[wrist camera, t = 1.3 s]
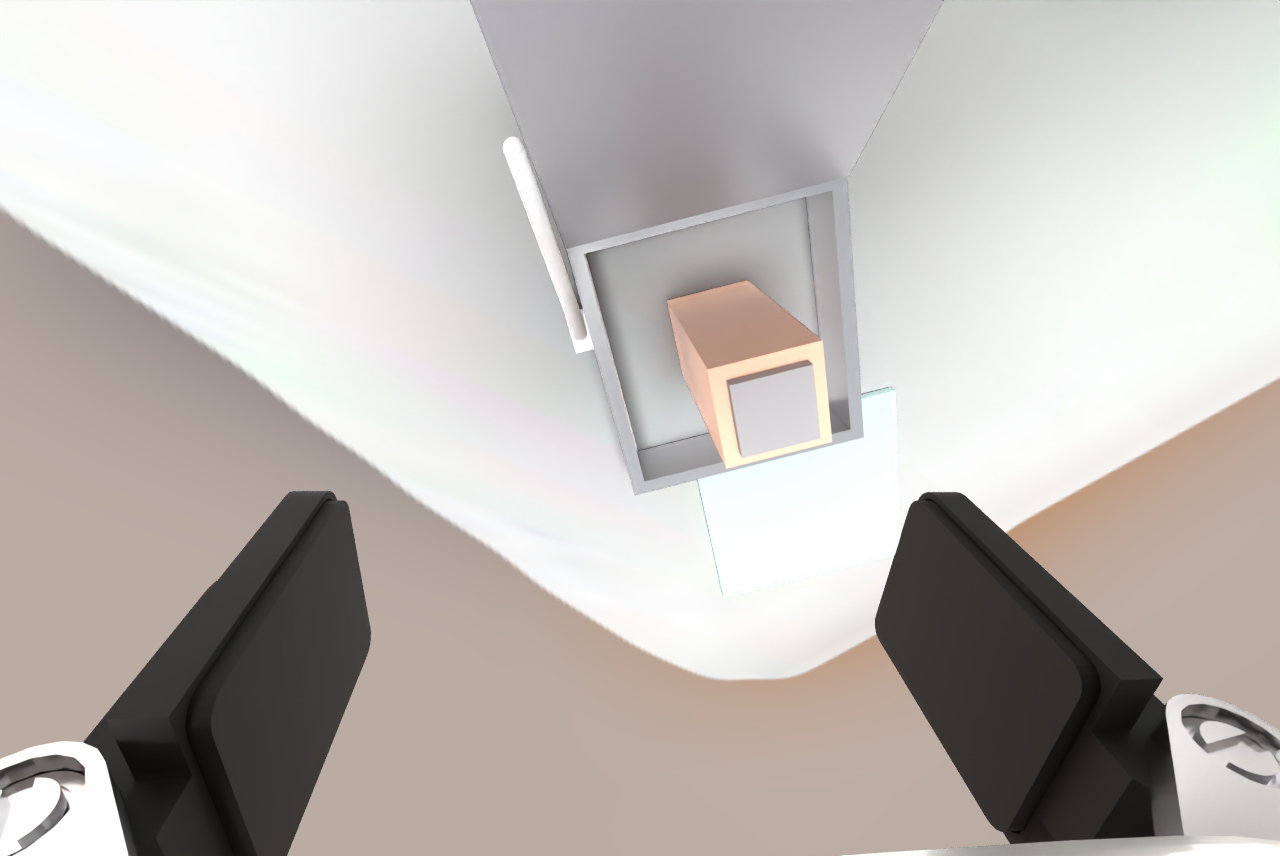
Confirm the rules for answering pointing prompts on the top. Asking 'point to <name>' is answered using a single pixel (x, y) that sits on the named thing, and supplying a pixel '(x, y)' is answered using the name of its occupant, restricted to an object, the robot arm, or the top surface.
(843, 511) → the mat
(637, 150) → the case
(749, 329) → the block
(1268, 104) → the top surface
